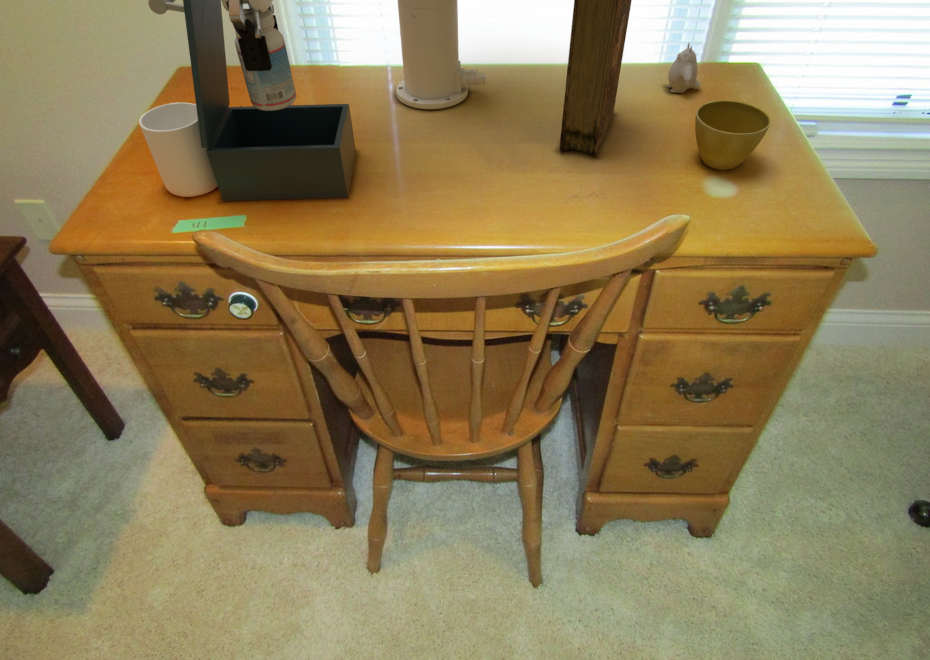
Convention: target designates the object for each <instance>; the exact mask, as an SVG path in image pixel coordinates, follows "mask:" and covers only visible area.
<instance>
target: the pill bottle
mask: <svg viewBox="0 0 930 660" xmlns="http://www.w3.org/2000/svg"><path fill="white" fill-rule="evenodd" d="M248 9H252V8H249V7H248ZM258 11H259V18H260V26H261V33H262V36H265V38H266V43H267V47H268V51H269V56H270V60H271V64H272V68H271V70H269V71H247V70H246V69H245V66H244V62H243V58H242V54H241V50H240V46H239V43H238V39H237V37H236V36H235V39H234V46H235V50H236V53H237V57H238V61H239V64H240V68H241V71H242V75H243V79H244V82H245V86H246V89H247V93H248V97H249V100H250V103H251V106H254V107H255V108H257V109H260V110H265V111H273V110H280V109H283V108H286V107H288V106H290V105H293V104H294V103H295V101H296V99H297V93H296V88H295V87H296V86H295V83H294V79H293V75H292V70H291V64H290V60H289V56H288V51H287V47H286V42H285V38H284V35H283V34H282V31H280V30H279V29H278V30H279V31H278V30H277V29H275V28H273V27H274V22H275V21H274V18H273V15H274V14H273V13H272V11H271V10H269V9H267V10H266V11H265V12H261V11H260V9H259V10H258ZM245 18H246V19H249V20H250V21H251V23H252V24H253V19H252V15H245Z"/></svg>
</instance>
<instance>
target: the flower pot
mask: <svg viewBox="0 0 930 660" xmlns="http://www.w3.org/2000/svg"><path fill="white" fill-rule="evenodd" d="M771 123H772V119H771V117H770V115H769V113H767V112H766V111H765V110H763V109H761V108H760V107H758V106H755V105H753V104H750V103H748V102H744V101H738V100H731V99H720V100H719V99H717V100H713V101H708V102H704V103H702V104H701V105H699V106H698V107H697V109H696V111H695V120H694V132H695V133H694V134H695V141H696V145H697V150H698V153H699V155H700V158H701V160H702V162H703V163H704V165H706V166H708V167H709V168H712V169H713V170H714V169H715V170H720V171H727V170H733V169H735V168H736V167H737V166H739V165H740V164H741V163H743V162H744V161H745V160H746V159H747V158H748V157H749V156H750V155H751V154H752V153H753V152H754V151H755V149H756V148H757V147H758V145H760V143H761V141H762V140H763V139H764V137H765V136H766V133H767V131H768V130H769V128H770V126H771Z"/></svg>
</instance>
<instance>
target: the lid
mask: <svg viewBox="0 0 930 660" xmlns="http://www.w3.org/2000/svg"><path fill="white" fill-rule="evenodd" d="M148 7H149V9H150V10H151V11H152V12H153V13H154V14H156V15H164V14H166V12H167V11H173V12H178V13H184V20H185V27H186V37H187V44H188V45H187V46H188V53H189V59H190V68H191V75H192V83H193V92H194V99H195V104H196V108H197V116H198V124H199V132H200V140H201V147H202V148H208V147H209V145H210V143H211V141H212V139H213V137H214V135H215V133H216V131H217V129H218V127H219V125H220V123H221V121H222V119H223V117H224V115H225V113H226V111H227V109H228V107H230V105H231V103H230V101H231V100H230V92H229V91H230V90H229V80H228V68H227V67H228V66H227V58H226V57H227V56H226V45H225V33H224V22H223V10H222V1H221V0H182V3H178V2H176V0H148Z"/></svg>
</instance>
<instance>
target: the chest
mask: <svg viewBox="0 0 930 660" xmlns="http://www.w3.org/2000/svg"><path fill="white" fill-rule="evenodd" d="M206 153H207V156H208V159H209V162H210V165H211V168H212V171H213V174H214V177H215V180H216V183H217V186H218V187H217V188H218V192H219V194H220V198H221V201H222V202H244V201H279V200H310V199H311V200H313V199H346V198H347V199H348V198H349V194H350V188H351V183H352V177H353V173H354V172H353V171H354V166H355V160H356V155H357V149H356V143H355V136H354V130H353V123H352V116H351V109H350V103H327V104H326V103H325V104H291V105H290V106H288V107H286V108H283V109H280V110H273V111H265V110H260V109H257V108H255V107H254V106H253V105H251V106H249V105H248V106H229V107H228V109H227V111H226V113H225V115H224V117H223V119H222V121H221V123H220V125H219V127H218V129H217V131H216V133H215V135H214V137H213V139H212V141H211V143H210V145H209V147H208V148H207V150H206Z"/></svg>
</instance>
